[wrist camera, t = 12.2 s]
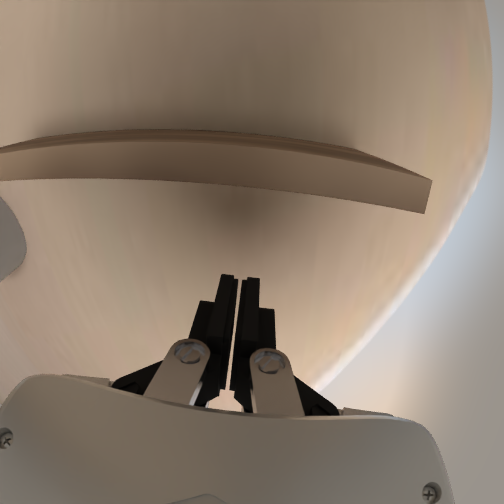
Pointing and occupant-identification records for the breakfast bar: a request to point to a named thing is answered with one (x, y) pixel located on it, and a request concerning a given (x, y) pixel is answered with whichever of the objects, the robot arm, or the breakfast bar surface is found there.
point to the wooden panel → (219, 164)
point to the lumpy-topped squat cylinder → (10, 241)
